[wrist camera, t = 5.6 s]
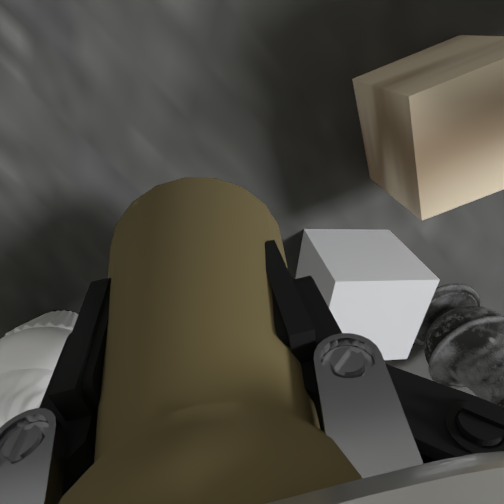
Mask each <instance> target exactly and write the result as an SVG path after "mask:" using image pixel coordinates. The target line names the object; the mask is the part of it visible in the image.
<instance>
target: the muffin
mask: <svg viewBox="0 0 504 504" xmlns="http://www.w3.org/2000/svg"><path fill="white" fill-rule="evenodd" d="M78 315H79V314H77V313H76V312H72V311H65V310H63V311H59V310H57V311H55V312H54V311H51V312H49V313H45V314H43V315H41V316H39V317H37V318H35V319H33V320H31V321H29V322H27V323H24V324H22V325H20V326H18V327H16V328H15V329H13V330H11V331H9V332H7V333H6V334H5V336H4V337H2V338H1V339H0V427H2V426H3V425H4V424H5V423H6V422H8V421H9V420H10V419H12V418H13V417H15V416H17V415H19V414H21V413H23V412H25V411H27V410H31V409H35V408H39V407H40V404H41V402H42V399H43V397H44V394H45V392H46V389H47V387H48V384H49V382H50V379H51V377H52V374H53V371H54V369H55V366H56V364H57V361H58V359H59V356H60V354H61V351H62V349H63V346H64V344H65V341H66V339H67V337H68V335H69V334H70V333H72V330H73V328H74V325H75V323H76V320H77V318H78Z"/></svg>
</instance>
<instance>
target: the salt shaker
mask: <svg viewBox="0 0 504 504" xmlns="http://www.w3.org/2000/svg"><path fill="white" fill-rule="evenodd" d="M414 343H417V344H419V345H424V351H425V356H426V360H427V362H428V364H429V373H430V375H431V378H432V379H433V380H434V381H435V382H437V383H440V384H443V385H445V386H448V387H451V388H462V387H468V388H469V389H470V390H472V391H473V392H474V393H475V394H476V395H477V397H479V398H482V399H485V400H487V401H489V402H491V403H493V404H496V405H498V406H499V407H501V408H502V409H504V316H502V315H501V314H499V313H497V312H495V311H492V310H489V309H487V308H484V307H480V300H479V296H478V294H477V293H476V292H475V291H474V289H472V288H470V287H469V286H467V285H462V284H450V285H445V286H442V287H439V288H436V290H435V293H434V295H433V297H432V300H431V302H430V305H429V307H428V309H427V312H426V314H425V317H424V319H423V322H422V324H421V326H420V329H419V331H418V334H417V336H416V338H415V341H414Z"/></svg>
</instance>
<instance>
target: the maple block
mask: <svg viewBox="0 0 504 504" xmlns="http://www.w3.org/2000/svg"><path fill="white" fill-rule="evenodd" d="M352 81H353V86H354V92H355V97H356V103H357V108H358V114H359V119H360V125H361V130H362V136H363V141H364V147H365V152H366V158H367V163H368V169H369V174H370V179H371V180H373V181H374V182H375V183H376V184H378V185H379V186H380V187H381V188H382V189H384V190H385V191H386V192H387V193H389V194H390V195H391V196H392V197H394V198H395V199H396V200H397V201H398V202H400V203H401V204H402V205H403V206H405V207H406V208H407V209H408V210H409V211H411V212H412V213H413V214H414V215H416V216H417V217H418V218H419V219H421V220H425V219H427V218H430V217H433V216H435V215H438V214H440V213H443V212H446V211H448V210H451V209H453V208H456V207H459V206H461V205H464V204H466V203H469V202H472V201H474V200H477V199H480V198H482V197H485V196H487V195H490V194H493V193H495V192H498V191H500V190H503V189H504V36H476V35H459V36H456V37H454V38H451V39H449V40H446V41H444V42H442V43H439V44H437V45H434V46H432V47H429V48H427V49H424V50H422V51H419V52H417V53H415V54H412V55H410V56H407V57H405V58H402V59H400V60H397V61H395V62H392V63H390V64H387V65H385V66H383V67H380V68H378V69H375V70H373V71H370V72H368V73H365V74H363V75H360V76H358V77H356V78H353V79H352Z"/></svg>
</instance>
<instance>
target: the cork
mask: <svg viewBox="0 0 504 504" xmlns="http://www.w3.org/2000/svg"><path fill="white" fill-rule="evenodd" d="M270 240H275V242H276V244H277V247H278V249H279V251H280V253H281V255H282V258H283V260H284V262H285V264H286V267H287V263H286V258H285V253H284V248H283V243H282V239H281V235H280V230H279V226H278V223H277V222H276V220H275V219H274V217H273V216H272V214H271V213H270V211H269V210H268V208H267V207H266V205H265V204H264V203H263V202H262V201H260V200H259V199H258V198H256V197H255V196H254V195H252V194H251V193H250V192H248V191H247V190H246V189H244V188H243V187H240V186H237V185H234V184H231V183H228V182H225V181H222V180H220V179H217V178H187V177H185V178H182V179H178V180H175V181H171V182H168V183H164V184H161V185H158V186H155V187H154V188H152V189H151V190H149V191H148V192H146V193H145V194H144V195H142V196H141V197H139V198H138V199H136V200H135V201H133V202H132V203H131V205H130V206H129V207H128V209H127V210H126V212H125V213H124V214H123V216H122V217H121V218H120V220H119V221H118V223H117V224H116V227H115V231H114V235H113V239H112V243H111V247H110V255H109V268H108V278H111V283H110V301H109V319H108V328H107V337H106V347H105V356H104V365H103V375H102V384H101V393H100V402H99V405H98V416H97V429H96V443H95V456H94V464H93V465H92V466H91V467H90V468H89V469H88V470H87V471H86V472H85V473H84V474H83V475H82V476H81V477H80V478H79V479H78V481H77V482H76V483H75V484H74V485H73V486H72V487H71V488H70V489H69V490H68V491H67V492H66V493H65V494H64V495H63V497H62V498H61V500H60V502H59V504H266V503H270V502H274V501H278V500H282V499H286V498H290V497H293V496H297V495H301V494H305V493H309V492H313V491H316V490H320V489H324V488H328V487H332V486H336V485H339V484H343V483H347V482H351V481H355V480H359V479H362V476H361V475H360V474H359V473H358V471H357V470H356V469H355V467H354V466H353V465H352V463H351V462H350V461H349V460H348V458H347V457H346V456H345V454H344V453H343V452H342V451H341V449H340V448H339V447H338V445H337V444H336V443H335V442H334V440H333V439H332V438H331V437H329V436H327V435H326V433H325V432H323V431H322V430H320V425H319V421H318V417H317V412H316V408H315V404H314V402H313V401H312V399H311V397H310V396H309V394H308V393H307V391H306V390H305V386H304V381H303V375H302V369H301V363H300V362H299V361H298V360H297V358H296V357H295V356H294V355H293V354H292V352H291V348H290V347H288V346H287V345H285V344H284V343H283V342H282V341H281V340H280V339H279V337H278V336H277V333H276V330H275V327H274V315H273V300H272V287H271V285H270V281H269V278H268V275H267V272H266V262H265V242H266V241H270ZM287 269H288V267H287Z"/></svg>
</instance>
